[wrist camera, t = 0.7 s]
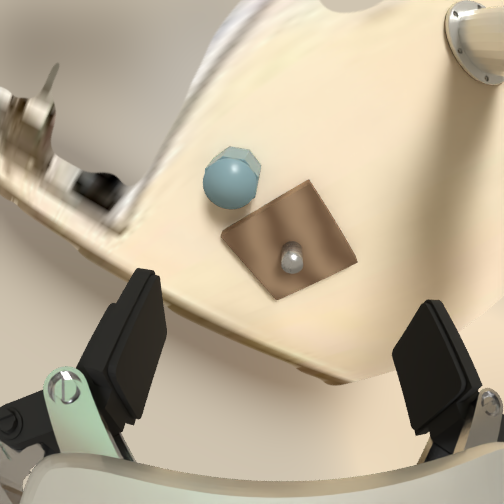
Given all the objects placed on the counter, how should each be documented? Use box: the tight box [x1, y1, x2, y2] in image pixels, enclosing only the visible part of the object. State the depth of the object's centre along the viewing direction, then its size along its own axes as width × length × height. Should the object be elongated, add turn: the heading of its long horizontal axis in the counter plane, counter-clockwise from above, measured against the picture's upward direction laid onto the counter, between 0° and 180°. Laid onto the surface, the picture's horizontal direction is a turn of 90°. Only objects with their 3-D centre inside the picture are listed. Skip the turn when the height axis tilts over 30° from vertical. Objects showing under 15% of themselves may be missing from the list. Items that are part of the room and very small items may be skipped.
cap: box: [203, 147, 261, 209], centre depth 33 cm, size 6×6×5 cm
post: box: [281, 241, 303, 274], centre depth 38 cm, size 3×3×4 cm
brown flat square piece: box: [221, 180, 357, 300], centre depth 40 cm, size 14×14×2 cm
